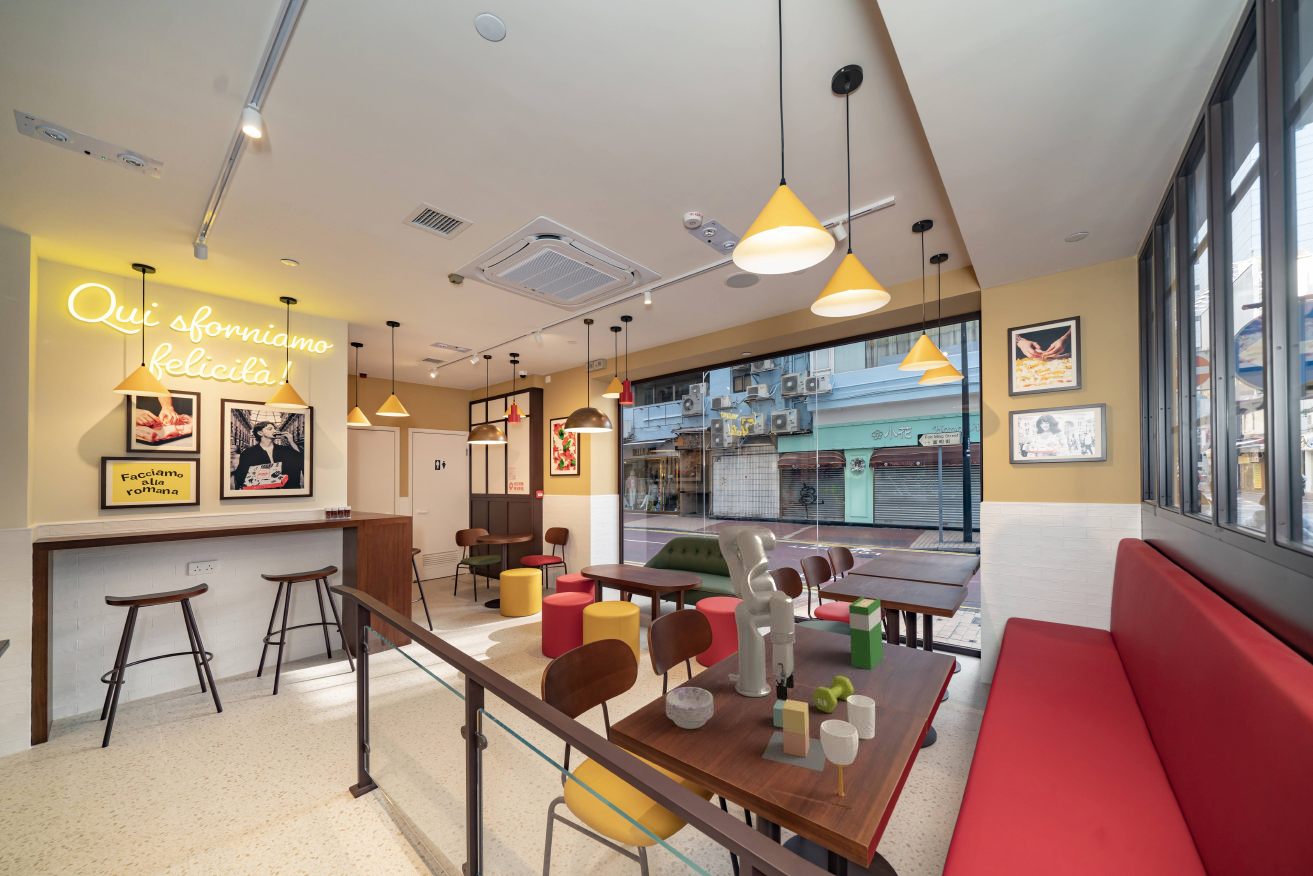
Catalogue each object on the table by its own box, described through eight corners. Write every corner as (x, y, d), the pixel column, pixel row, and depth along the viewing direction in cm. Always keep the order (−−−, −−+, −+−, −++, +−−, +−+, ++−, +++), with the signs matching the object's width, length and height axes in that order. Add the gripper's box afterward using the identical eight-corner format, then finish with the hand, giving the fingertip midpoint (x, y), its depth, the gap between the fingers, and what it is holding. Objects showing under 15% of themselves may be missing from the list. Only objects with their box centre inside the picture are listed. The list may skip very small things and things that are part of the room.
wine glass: (853, 814, 116) (850, 741, 117) (815, 797, 122) (812, 729, 123) (867, 795, 123) (864, 726, 124) (830, 780, 129) (828, 715, 130)
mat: (761, 759, 138) (761, 757, 138) (774, 732, 153) (774, 730, 153) (822, 774, 132) (822, 771, 132) (830, 744, 146) (830, 741, 146)
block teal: (773, 728, 156) (773, 707, 156) (777, 719, 161) (777, 699, 162) (793, 731, 153) (792, 711, 154) (797, 722, 159) (796, 703, 159)
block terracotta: (783, 752, 141) (783, 730, 141) (788, 742, 146) (787, 720, 147) (805, 757, 138) (805, 734, 139) (809, 746, 144) (808, 724, 144)
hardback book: (864, 653, 218) (862, 596, 220) (882, 656, 214) (880, 598, 215) (851, 665, 204) (849, 605, 206) (871, 670, 200) (868, 608, 201)
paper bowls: (674, 737, 151) (673, 710, 152) (660, 714, 166) (660, 689, 166) (721, 729, 155) (720, 703, 156) (704, 708, 170) (703, 683, 170)
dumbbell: (833, 716, 163) (832, 693, 163) (811, 708, 168) (810, 686, 169) (856, 700, 174) (855, 678, 174) (834, 693, 180) (833, 672, 180)
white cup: (874, 744, 145) (872, 708, 146) (845, 737, 149) (844, 702, 150) (878, 732, 152) (876, 698, 152) (851, 726, 156) (849, 692, 157)
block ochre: (783, 730, 141) (782, 708, 142) (787, 720, 147) (786, 699, 147) (805, 734, 139) (804, 712, 139) (808, 724, 144) (808, 703, 144)
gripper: (776, 628, 168) (779, 681, 167) (764, 642, 153) (766, 702, 151) (799, 630, 165) (802, 685, 163) (789, 645, 150) (792, 706, 148)
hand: (785, 693), depth 157 cm, fingers open, 9 cm apart
